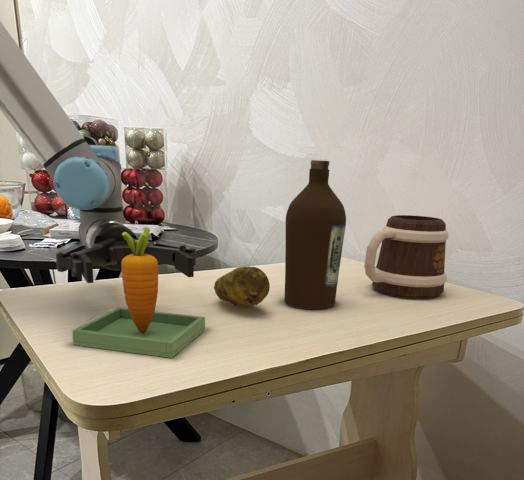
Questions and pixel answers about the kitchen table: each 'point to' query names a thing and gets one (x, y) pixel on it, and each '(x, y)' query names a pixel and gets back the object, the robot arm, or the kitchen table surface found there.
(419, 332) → the kitchen table surface
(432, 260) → the mug
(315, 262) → the olive oil
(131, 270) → the carrot
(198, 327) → the green tray
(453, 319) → the kitchen table surface
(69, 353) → the kitchen table surface
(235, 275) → the potato
